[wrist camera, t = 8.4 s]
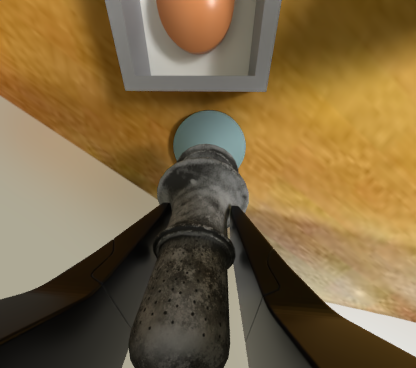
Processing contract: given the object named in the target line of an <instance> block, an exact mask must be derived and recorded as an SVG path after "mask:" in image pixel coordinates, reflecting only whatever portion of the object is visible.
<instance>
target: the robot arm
mask: <svg viewBox="0 0 416 368" xmlns="http://www.w3.org/2000/svg"><path fill="white" fill-rule="evenodd" d="M171 216H172V208H171V203H169V202H163V203H162V204H160V205H159V206H158V207H156V208H155V209H154V210H152V211H151V212H149V213H148V214H147V215H145V216H144V217H143V218H141V219H140V220H139V221H137V222H136V223H134V224H133V225H132V226H130V227H129V228H128V229H126V230H125V231H124V232H122V233H121V234H120V235H118V236H117V237H115V238H114V240H111V241H110V242H109V243H107V244H106V245H104V246H103V247H102V248H100V249H99V250H97V251H96V252H94V253H93V254H91V255H90V256H88V257H87V258H85V259H84V260H82V261H81V262H79V263H77V264H76V265H74V266H73V267H71V268H70V269H68V270H66V271H65V272H63V273H62V274H60V275H59V276H57V277H56V278H54V279H52V280H51V281H49V282H47V283H46V284H44V285H42V286H40V287H38V288H36V289H33V290H31V291H28V292H25V293H23V294H19V295H16V296H12V297H8V298H4V299H1V300H0V368H122V365H123V363H124V360H125V357H126V354H127V351H128V348H129V346H128V343H129V338H130V332H131V328H132V326H133V323H134V320H135V318H136V315H137V312H138V309H139V307H140V304H141V301H142V299H143V296H144V293H145V290H146V288H147V285H148V282H149V280H150V277H151V274H152V271H153V269H154V266H155V263H156V261H157V258H156V256H155V254H154V252H153V243H154V240H155V237H156V236H157V235H158V234H159V233H160V232H161V231H162V230H164V229H166V228H167V226H168V224H169V221H170V218H171ZM230 240H231V241H232V243H233V245H234V247H235V255H236V257H235V260H234V263H233V264H234V271H235V277H236V283H237V291H238V297H239V304H240V311H241V317H242V324H243V331H244V337H245V342H246V350H247V357H248V364H249V368H416V357H415V356H413V355H411V354H409V353H407V352H405V351H404V350H402V349H400V348H398V347H396V346H394V345H393V344H391V343H389V342H387V341H385V340H383V339H381V338H380V337H378V336H376V335H374V334H372V333H371V332H369V331H367V330H365V329H363V328H361V327H360V326H358V325H356V324H354V323H352V322H350V321H349V320H347V319H345V318H343V317H342V316H340V315H339V314H337V313H336V312H335V311H334V310H332V309H331V308H330V307H329V306H328V305H327V304H326V303H325V302H324V301H323V300H322V299H321V298H320V297H319V296H318V295H317V294H316V293H315V292H314V291H313V290H312V289H311V288H310V287H309V286H308V285H307V284H306V283H305V282H304V281H303V280H302V279H301V278H300V277H299V276H298V275H297V274H296V273H295V272H294V271H293V270H292V269H291V268H290V267H289V266H288V265H287V264H286V262H285V261H284V260H283V259H282V258H281V257H280V256H279V254H278V253H277V252H276V251H275V250H274V249H273V247H272V246H271V245H270V244H269V242H268V241H267V240H266V239H265V237H264V236H263V235H262V234H261V233H260V231H259V230H258V229H257V228H256V227H255V225H254V224H253V223H252V222H251V220H250V219H249V218H248V217H247V216H246V214H245V213H244V212H243V211H242V210H241V208H240V207H239V206H236V205H232V206H231V210H230Z"/></svg>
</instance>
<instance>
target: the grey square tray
mask: <svg viewBox="0 0 416 368" xmlns="http://www.w3.org/2000/svg"><path fill="white" fill-rule="evenodd" d="M281 1H282V0H235V4H234V11H233V16H232V21H231V24H230V27H229V30H228V32H227V34H226V36H225V38H224V39H223V40H222V42H221V43H220V44H219V45H218V46H217V47H216V48H215V49H213V50H212V51H210V52H208V53H205V54H191V53H188V52H186V51H184V50H183V49H181V48H180V47H179V46H178V45H177V44H176V43H175V42H174V41H173V40H172V39H171V38H170V37H169V35H168V34H167V32H166V31H165V29H164V27H163V25H162V22H161V20H160V17H159V13H158V9H157V3H156V0H105V3H106V8H107V12H108V17H109V21H110V25H111V30H112V34H113V38H114V43H115V47H116V52H117V56H118V60H119V65H120V69H121V74H122V78H123V82H124V87H125V91H228V92H266V90H267V84H268V78H269V73H270V67H271V61H272V55H273V49H274V43H275V37H276V31H277V25H278V19H279V13H280V7H281Z"/></svg>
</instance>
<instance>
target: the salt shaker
mask: <svg viewBox="0 0 416 368" xmlns="http://www.w3.org/2000/svg"><path fill="white" fill-rule="evenodd" d="M157 197H158V201H159V204H162V203H163V202H169V203H171V208H172V216H171V218H170V221H169V224H168V226H167V228H166V229H164V230H162V231H161V232H160V233H159V234H158V235H157V236H156V237H155V240H154V243H153V252H154V254H155V256H156V258H157V261H156V263H155V266H154V269H153V271H152V274H151V277H150V280H149V282H148V285H147V288H146V290H145V293H144V296H143V299H142V301H141V304H140V307H139V309H138V312H137V315H136V318H135V320H134V323H133V326H132V328H131V332H130V338H129V343H128V346H129V353H130V360H131V362H132V364H133V366H134V367H135V368H224V366H225V364H226V361H227V359H228V356H229V348H230V329H229V303H228V276H227V269H229V268H230V266H231V265H232V264H233V263H234V260H235V257H236V255H235V247H234V245H233V243H232V241H231V240H230V239H229V238H228V236H227V228H228V227H230V210H231V206H232V205H236V206H239V207H240V208H241V210H242V211H243V212H244V213H245V212H246V209H247V206H248V203H249V192H248V189H247V186H246V183H245V181H244V180H243V178H242V177H241V176H240V174H239V173H238V167H237V164H236V161H235V160H234V158H233V157H232V155H231V154H230V153H229V152H227V151H226V150H225V149H223V148H221V147H219V146H216V145H212V144H199V145H195V146H193V147H190V148H188V149H187V150H186V151H184V152H183V153H182V154H181V156H180V157H179V158H178V160H177V163H175V164H174V165H173V166H171V167H170V168H169V169H167V170H166V172H165V173H164V175H163V176H162V177H161V179H160V181H159V185H158V188H157Z"/></svg>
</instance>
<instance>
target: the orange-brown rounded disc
mask: <svg viewBox="0 0 416 368" xmlns="http://www.w3.org/2000/svg"><path fill="white" fill-rule="evenodd" d="M156 3H157V9H158V13H159V17H160V20H161V22H162V25H163V27H164V29H165V31H166V32H167V34H168V35H169V37H170V38H171V39H172V40H173V41H174V42H175V43H176V44H177V45H178V46H179V47H180V48H181V49H183V50H184V51H186V52H188V53H191V54H205V53H208V52H210V51H212V50H213V49H215V48H216V47H217V46H218V45H219V44H220V43H221V42H222V40H223V39H224V38H225V36H226V34H227V32H228V30H229V27H230V24H231V21H232V16H233V11H234V4H235V0H156Z"/></svg>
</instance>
